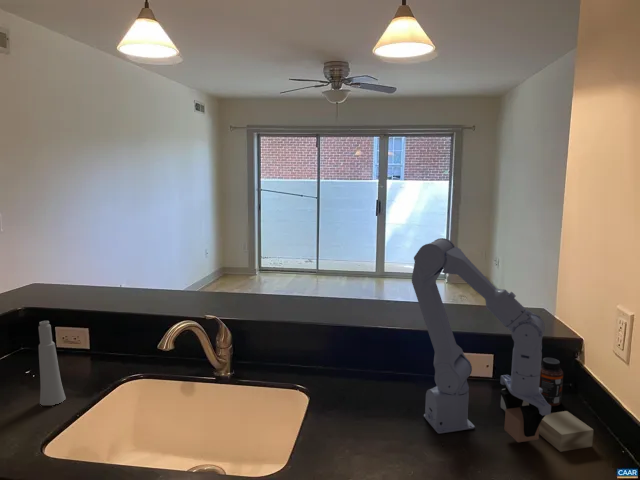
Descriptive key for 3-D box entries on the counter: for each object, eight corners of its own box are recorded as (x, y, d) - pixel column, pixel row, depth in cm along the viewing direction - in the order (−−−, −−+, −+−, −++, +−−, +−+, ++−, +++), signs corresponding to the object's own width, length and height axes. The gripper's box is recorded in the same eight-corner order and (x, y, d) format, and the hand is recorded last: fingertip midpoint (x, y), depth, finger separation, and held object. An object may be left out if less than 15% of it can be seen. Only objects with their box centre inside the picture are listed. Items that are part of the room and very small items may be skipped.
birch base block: (560, 451, 101) (561, 434, 101) (535, 431, 109) (536, 415, 108) (591, 446, 103) (593, 429, 102) (565, 426, 111) (566, 410, 110)
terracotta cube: (518, 442, 102) (519, 421, 101) (504, 429, 106) (505, 409, 106) (538, 439, 103) (540, 418, 102) (523, 426, 107) (525, 406, 107)
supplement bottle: (564, 408, 119) (567, 366, 117) (538, 406, 120) (541, 364, 118) (557, 397, 124) (560, 356, 123) (533, 395, 126) (536, 354, 124)
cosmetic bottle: (63, 404, 123) (55, 324, 119) (37, 409, 121) (27, 327, 117) (67, 394, 128) (59, 316, 125) (42, 398, 126) (33, 319, 123)
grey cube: (512, 417, 115) (513, 398, 114) (500, 407, 120) (501, 389, 119) (530, 415, 116) (531, 396, 115) (517, 405, 121) (519, 386, 120)
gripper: (566, 384, 96) (560, 444, 98) (520, 355, 110) (517, 409, 112) (535, 387, 94) (530, 449, 97) (493, 358, 108) (490, 413, 111)
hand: (521, 428), depth 104 cm, fingers closed on terracotta cube, 5 cm apart
